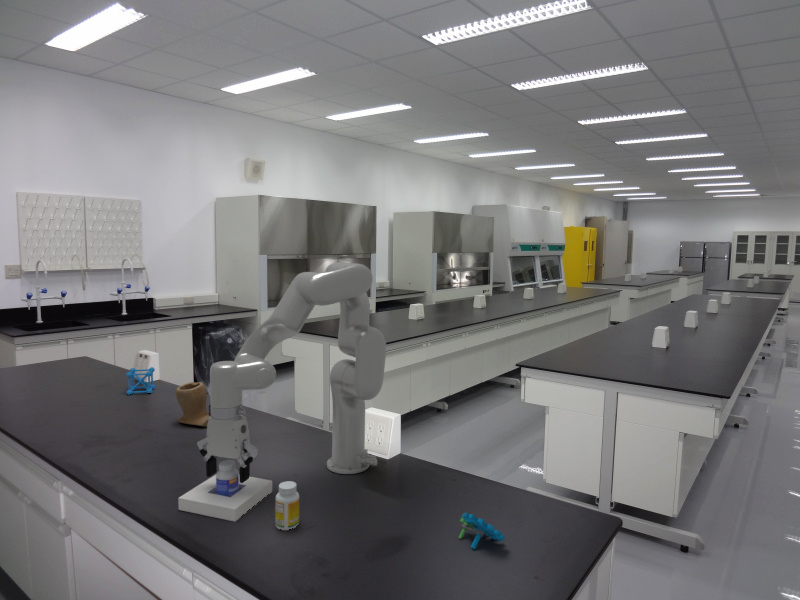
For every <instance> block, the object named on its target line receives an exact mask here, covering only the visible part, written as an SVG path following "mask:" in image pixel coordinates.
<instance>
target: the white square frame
mask: <svg viewBox="0 0 800 600" xmlns="http://www.w3.org/2000/svg"><path fill="white" fill-rule="evenodd" d="M272 492H273V480H270V479H265V478H259V477H255V476H249V479H247V480H246V481H245V482H243V483H240V481H239V491H238V492H237V493H236V494H234V495H233V496H231V497H227V496H222V495H217V494H216V474H213V475H212V476H210V477H208V479H206V480H205V481H202V483H200V484H198V485H197V486H195V487H193V488H192V489H190V490H188V491H187V492H185V493H184V494H183V495H181V496H179V497H178V499H177V500H178V503H177V504H178V510H179V511H184V512H187V513H188V512H189V513H192V514H198V515H201V516H207V517H212V518H217V519H221V520H225V521H230V522H234V523H235V522H237V521H238V520H239V519H240V518H242V517H243V516H244V515H245V514H247V513H248V512H249V511H250V510H252V509H253V508H254V507H255V506H256V505H258V504H259V503H260V502H262V501H263V500H264V499H265V498H267V495H268V494H269V495H270V494H271V493H272ZM269 495H268V496H269ZM264 497H265V498H264ZM263 498H264V499H263ZM262 499H263V500H262ZM259 501H260V502H259ZM258 502H259V503H258ZM257 503H258V504H257ZM254 505H255V506H254ZM253 506H254V507H253ZM252 507H253V508H252ZM249 509H250V510H249ZM248 510H249V511H248ZM247 511H248V512H247ZM243 514H244V515H243ZM242 515H243V516H242ZM241 516H242V517H241Z"/></svg>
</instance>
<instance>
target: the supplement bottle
mask: <svg viewBox="0 0 800 600" xmlns="http://www.w3.org/2000/svg"><path fill="white" fill-rule="evenodd" d="M297 488H298V487H297V483H296V481H295V482H294V481H291V480H290V481H289V480H287V481H282V482H280V483H279V484H278V492H277V494H276V495H275V508H274V509H275V512H274V513H275V516H274V517H275V519H274V520H275V521H274V523H275V528H277V529H278V530H280V529H281V531H290V530H289V529H291V530H293V529H296V528H297V527H298V526H297V525H299V524H300V494H299V492H298V491H297ZM296 526H297V527H296ZM292 528H293V529H292Z"/></svg>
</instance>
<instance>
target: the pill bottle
mask: <svg viewBox="0 0 800 600" xmlns="http://www.w3.org/2000/svg"><path fill="white" fill-rule="evenodd" d="M236 464H237V463H236V461H235V459H225V460H222V461H220V462H219V463H218V471H217V472H216V473H215V475H216V494H217V495H222V496H227V497H231V496H233V495H234V494H236V493H237V492H238V491H239V469H237V468H236V467H237V465H236Z"/></svg>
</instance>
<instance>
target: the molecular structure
mask: <svg viewBox="0 0 800 600" xmlns="http://www.w3.org/2000/svg"><path fill="white" fill-rule="evenodd" d="M155 370H156V369H155V367H152V366H151V367H149V368H148V369H147V368H146V369H144V368H143V369H136V368H134V367H132V368H130V369H129V371H128V372H126V374H125V376H126V377H127V378H128V379H127V380H128V390H127V391H126V395H127V394H128V396H131V395H133V394H138V393H139V394H142V393H144V394H145V393H146V394H147V393H151V394H153V390H155V388H156V385H155V384H154V372H155ZM136 372H141V373H136ZM143 372H144V373H143ZM145 372H146V373H145ZM139 376H143V377H142V378H141V377H139ZM145 379H147V382H146V381H145ZM135 380H136V381H137V383H136V384H135ZM139 385H142V386H139ZM136 389H146V390H136ZM135 390H136V391H135ZM130 394H131V395H130Z"/></svg>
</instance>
